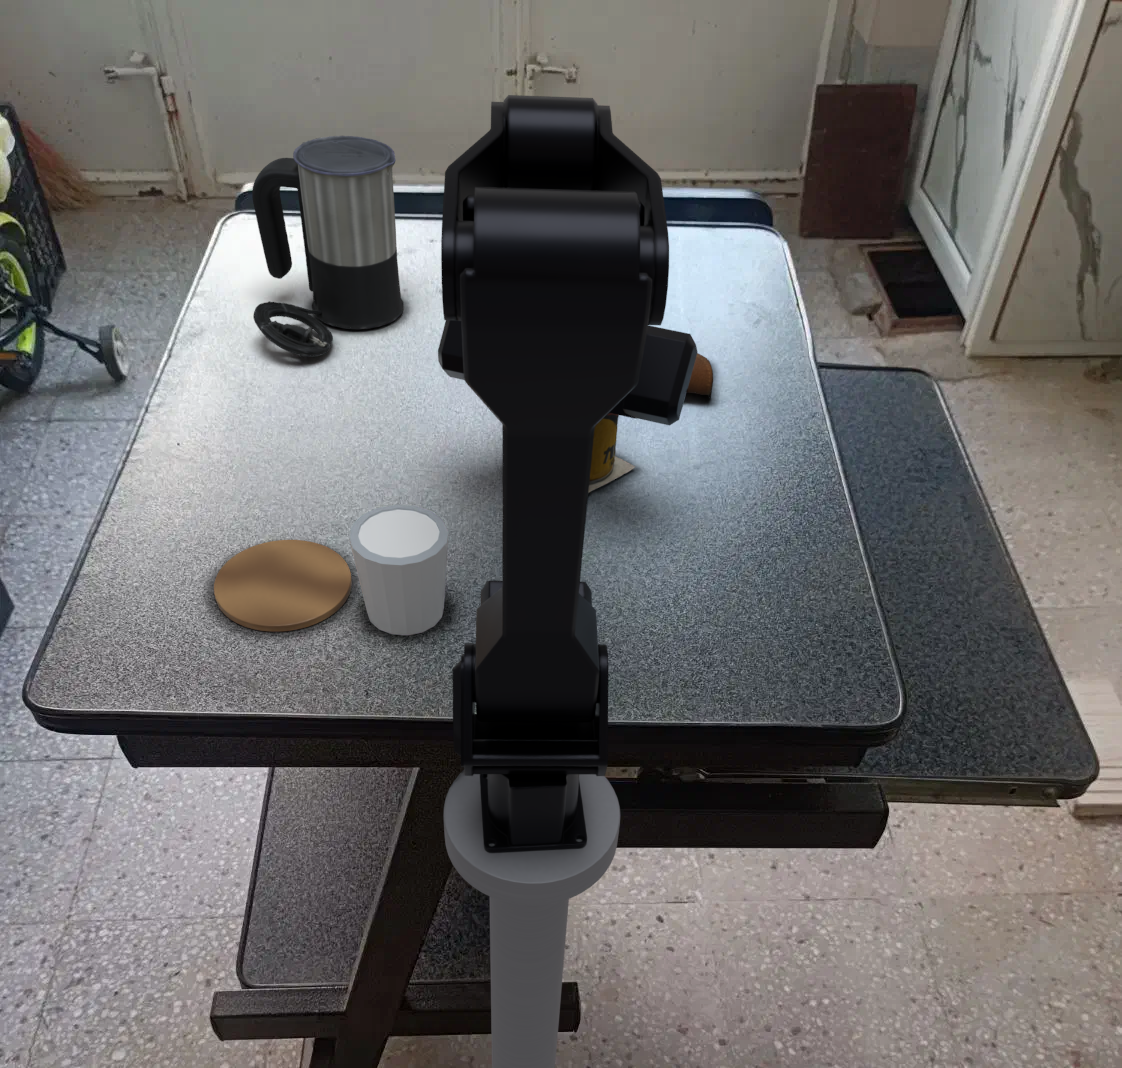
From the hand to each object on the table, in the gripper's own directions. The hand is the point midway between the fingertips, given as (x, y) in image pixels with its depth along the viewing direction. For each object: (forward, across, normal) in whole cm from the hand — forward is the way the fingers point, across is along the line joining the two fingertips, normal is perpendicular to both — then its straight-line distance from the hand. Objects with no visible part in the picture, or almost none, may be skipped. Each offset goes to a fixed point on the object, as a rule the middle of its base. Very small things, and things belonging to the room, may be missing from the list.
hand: (586, 391), depth 89 cm
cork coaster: (-12, +15, +22) cm, 29 cm away
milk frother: (+14, +30, -4) cm, 34 cm away
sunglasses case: (+16, +2, -6) cm, 17 cm away
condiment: (+4, 0, +6) cm, 7 cm away
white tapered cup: (-11, +6, +21) cm, 25 cm away
